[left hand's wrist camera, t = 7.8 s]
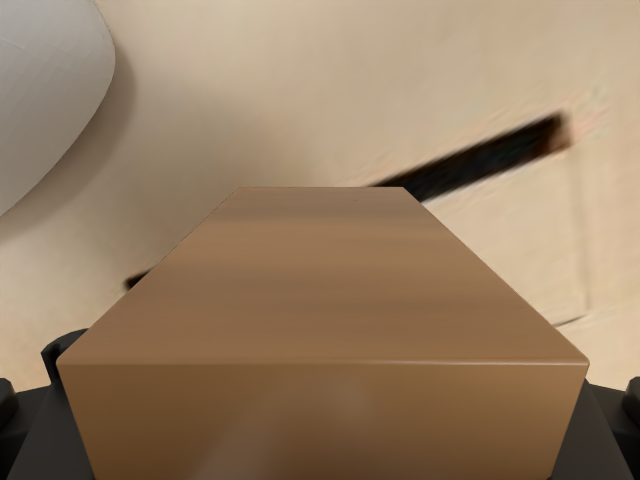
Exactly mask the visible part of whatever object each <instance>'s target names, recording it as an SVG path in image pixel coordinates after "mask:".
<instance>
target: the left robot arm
mask: <svg viewBox="0 0 640 480" xmlns="http://www.w3.org/2000/svg"><path fill="white" fill-rule="evenodd" d="M88 329H89V328H87V329H81V330H78V331H74V332H70V333H68V334H66V335H64V336H61V337H59V338H57V339H56V340H54V341H53V342H51V343H50V344H48V345H47V346H46V347H45V348H44V349H43V351H42V352H41V355H42V358H43V361H44V364H45V366H46V369H47V372H48V375H49V378H50V380H51V385H49V386H45V387H41V388H36V389H32V390H27V391H22V392H18V393H15V391H14V389H13V386H12V384H11V382H10V381H8V380H7V379H5V378H0V480H95V477H94V474H93V471H92V468H91V465H90V462H89V459H88V456H87V453H86V450H85V448H84V445H83V442H82V439H81V436H80V433H79V430H78V427H77V424H76V421H75V418H74V415H73V412H72V410H71V407H70V404H69V401H68V398H67V395H66V392H65V389H64V386H63V383H62V380H61V377H60V374H59V372H58V369H57V366H56V361H57V359H58V357H59V356H60V355H61V354H63V353H64V352H65V351H66V350H67V349H68V348H69V347H70V346H71V345H72V344H73V343H74V342H75V341H76V340H77V339H78V338H80V337H81V336H82V335H83V334H84V333H85V332H86V331H87V330H88ZM547 480H640V377H635V378H633V379H631V380H630V382H629V384H628V386H627V389H626V391H620V390H616V389H611V388H606V387H602V386H597V385H593V384H589V382H588V381H587V380H586V378H585V379H584V382H583V385H582V388H581V391H580V394H579V396H578V399H577V402H576V405H575V408H574V411H573V414H572V417H571V419H570V422H569V425H568V428H567V431H566V434H565V437H564V439H563V442H562V445H561V448H560V451H559V454H558V457H557V460H556V462H555V465H554V468H553V471H552V474H551V477H549V478H547Z"/></svg>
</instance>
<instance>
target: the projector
mask: <svg viewBox="0 0 640 480" xmlns="http://www.w3.org/2000/svg"><path fill="white" fill-rule="evenodd" d="M115 63H116V60H115V48H114V44H113V40H112V37H111V34H110V31H109V29H108V26H107V24H106V22H105V20H104V18H103V16H102V14H101V12H100V11H99V9H98V7H97V6H96V4H95V3H94V1H93V0H0V216H1V215H3V214H4V213H5V212H7V211H8V210H9V209H10V208H11V207H13V206H14V205H15V204H16V203H17V202H18V201H19V200H21V199H22V198H23V197H24V196H25V195H26V194H27V193H28V192H29V191H30V190H31V189H32V188H33V187H34V186H36V185H37V183H38V182H39V181H40V180H41V179H42V178H43V177H44V176H45V175H46V174H47V173H48V172H49V171H50V170H51V169H52V168H53V167H54V165H55V164H56V163H57V162H58V161H59V160H60V158H61V157H62V156H63V155H64V154H65V153H66V151H67V150H68V149H69V148H70V146H71V145H72V144H73V143H74V141H75V140H76V139H77V137H78V136H79V135H80V134H81V132H82V131H83V130H84V128H85V127H86V125H87V124H88V122H89V121H90V119H91V118H92V117H93V115H94V114H95V112H96V110H97V109H98V107H99V105H100V103H101V102H102V100H103V98H104V97H105V95H106V92H107V90H108V88H109V86H110V83H111V81H112V78H113V74H114V70H115Z"/></svg>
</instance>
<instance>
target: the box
mask: <svg viewBox="0 0 640 480" xmlns="http://www.w3.org/2000/svg"><path fill="white" fill-rule="evenodd" d="M589 365H590V363H589V360H588V358H587V357H586V356H585V355H584V354H583V353H582V352H581V351H580V350H578V349H577V348H576V347H575V346H574V345H573V344H572V343H571V342H570V341H569V340H568V339H567V338H565V337H564V336H563V335H562V334H561V333H560V332H559V331H558V330H557V329H556V328H555V327H554V326H552V325H551V324H550V323H549V322H548V321H547V320H546V319H545V318H544V317H543V316H542V315H541V314H539V313H538V312H537V311H536V310H535V309H534V308H533V307H532V306H531V305H530V304H529V303H528V302H526V301H525V300H524V299H523V298H522V297H521V296H520V295H519V294H518V293H517V292H516V291H515V290H514V289H512V288H511V287H510V286H509V285H508V284H507V283H506V282H505V281H504V280H503V279H502V278H501V277H499V276H498V275H497V274H496V273H495V272H494V271H493V270H492V269H491V268H490V267H489V266H488V265H486V264H485V263H484V262H483V261H482V260H481V259H480V258H479V257H478V256H477V255H476V254H475V253H473V252H472V251H471V250H470V249H469V248H468V247H467V246H466V245H465V244H464V243H463V242H462V241H460V240H459V239H458V238H457V237H456V236H455V235H454V234H453V233H452V232H451V231H450V230H449V229H447V228H446V227H445V226H444V225H443V224H442V223H441V222H440V221H439V220H438V219H437V218H436V217H434V216H433V215H432V214H431V213H430V212H429V211H428V210H427V209H426V208H425V207H424V206H423V205H422V204H420V203H419V202H418V201H417V200H416V199H415V198H414V197H413V196H412V195H411V194H410V193H409V192H407V191H406V190H405V189H404V188H403V187H239V188H238V189H237V190H236V191H235V192H234V193H233V194H232V195H230V196H229V197H228V198H227V199H226V200H225V201H224V202H223V203H222V204H221V205H220V206H219V207H218V208H217V209H216V210H215V211H213V212H212V213H211V214H210V215H209V216H208V217H207V218H206V219H205V220H204V221H203V222H202V223H201V224H200V225H199V226H198V227H196V228H195V229H194V230H193V231H192V232H191V233H190V234H189V235H188V236H187V237H186V238H185V239H184V240H183V241H182V242H181V243H179V244H178V245H177V246H176V247H175V248H174V249H173V250H172V251H171V252H170V253H169V254H168V255H167V256H166V257H165V258H163V259H162V260H161V261H160V262H159V263H158V264H157V265H156V266H155V267H154V268H153V269H152V270H151V271H150V272H149V273H148V274H146V275H145V276H144V277H143V278H142V279H141V280H140V281H139V282H138V283H137V284H136V285H135V286H134V287H133V288H132V289H131V290H129V291H128V292H127V293H126V294H125V295H124V296H123V297H122V298H121V299H120V300H119V301H118V302H117V303H116V304H115V305H114V306H112V307H111V308H110V309H109V310H108V311H107V312H106V313H105V314H104V315H103V316H102V317H101V318H100V319H99V320H98V321H97V322H95V323H94V324H93V325H92V326H91V327H90V328H89V329H88V330H87V331H86V332H85V333H84V334H83V335H82V336H81V337H80V338H78V339H77V340H76V341H75V342H74V343H73V344H72V345H71V346H70V347H69V348H68V349H67V350H66V351H65V352H64V353H63V354H61V355H60V356H59V357H58V359H57V361H56V366H57V369H58V372H59V374H60V377H61V380H62V383H63V386H64V389H65V392H66V395H67V398H68V401H69V404H70V407H71V410H72V412H73V415H74V418H75V421H76V424H77V427H78V430H79V433H80V436H81V439H82V442H83V445H84V448H85V450H86V453H87V456H88V459H89V462H90V465H91V468H92V471H93V474H94V477H95V480H547V478H549V477H551V474H552V471H553V468H554V465H555V462H556V460H557V457H558V454H559V451H560V448H561V445H562V442H563V439H564V437H565V434H566V431H567V428H568V425H569V422H570V419H571V417H572V414H573V411H574V408H575V405H576V402H577V399H578V396H579V394H580V391H581V388H582V385H583V382H584V379H585V376H586V374H587V371H588V368H589Z"/></svg>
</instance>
